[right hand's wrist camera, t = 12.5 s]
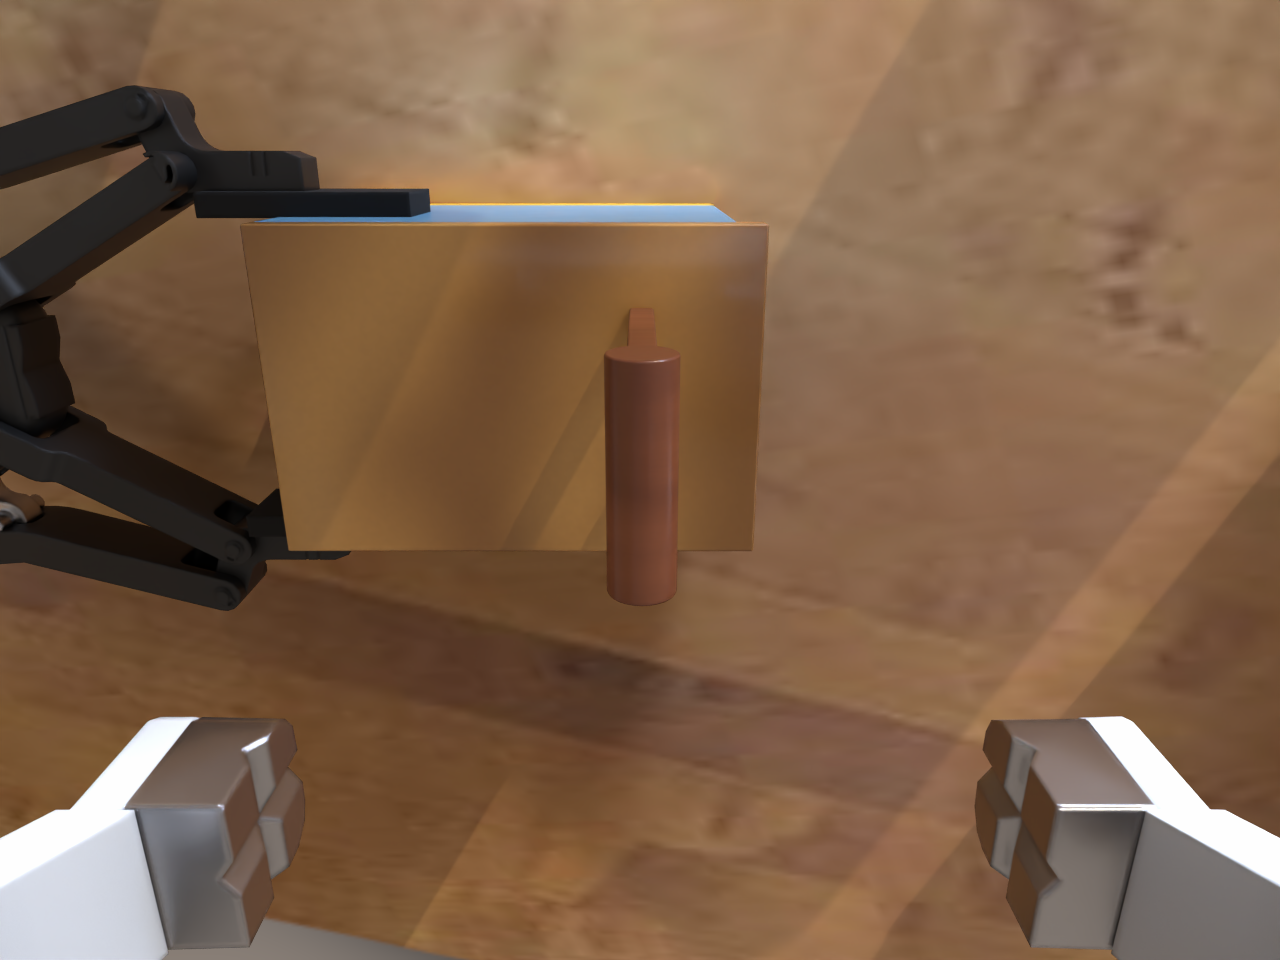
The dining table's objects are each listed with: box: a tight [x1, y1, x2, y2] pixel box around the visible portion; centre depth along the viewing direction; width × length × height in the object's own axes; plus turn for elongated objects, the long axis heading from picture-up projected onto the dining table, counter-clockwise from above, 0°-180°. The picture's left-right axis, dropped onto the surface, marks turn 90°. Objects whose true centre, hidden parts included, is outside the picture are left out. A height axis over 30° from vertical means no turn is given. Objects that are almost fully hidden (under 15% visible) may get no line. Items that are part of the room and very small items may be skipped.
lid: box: [240, 222, 769, 606], centre depth 23 cm, size 14×10×8 cm
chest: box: [255, 204, 736, 222], centre depth 31 cm, size 14×10×10 cm
